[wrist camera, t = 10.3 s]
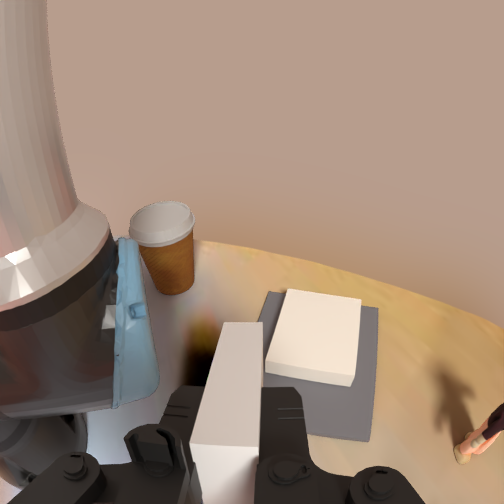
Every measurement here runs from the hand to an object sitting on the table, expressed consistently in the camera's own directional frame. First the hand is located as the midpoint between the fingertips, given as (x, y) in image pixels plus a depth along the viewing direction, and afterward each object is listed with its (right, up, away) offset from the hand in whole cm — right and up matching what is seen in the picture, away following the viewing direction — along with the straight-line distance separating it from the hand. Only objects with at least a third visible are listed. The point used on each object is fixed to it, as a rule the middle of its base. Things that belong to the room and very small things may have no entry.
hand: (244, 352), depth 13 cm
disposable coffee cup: (-12, -1, +38) cm, 40 cm away
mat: (+8, -9, +25) cm, 28 cm away
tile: (+7, -10, +21) cm, 24 cm away
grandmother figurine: (+25, -18, +13) cm, 33 cm away
